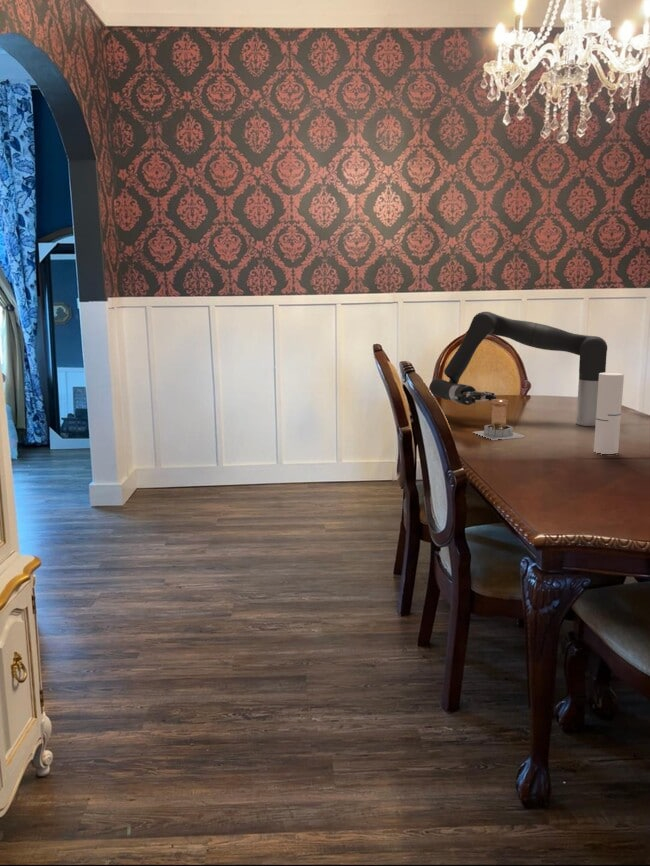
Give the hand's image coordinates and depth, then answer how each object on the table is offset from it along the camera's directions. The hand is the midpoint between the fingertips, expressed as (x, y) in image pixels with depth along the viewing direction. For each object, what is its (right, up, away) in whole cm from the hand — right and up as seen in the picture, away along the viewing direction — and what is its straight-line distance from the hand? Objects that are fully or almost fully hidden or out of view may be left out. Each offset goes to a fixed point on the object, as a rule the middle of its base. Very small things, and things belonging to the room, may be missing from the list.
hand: (484, 399), depth 256 cm
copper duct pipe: (+3, -13, -9) cm, 15 cm away
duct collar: (+3, -13, -9) cm, 16 cm away
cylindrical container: (+30, -19, -36) cm, 50 cm away
